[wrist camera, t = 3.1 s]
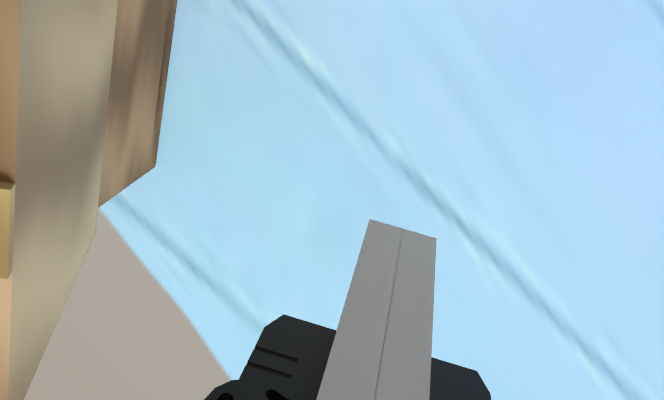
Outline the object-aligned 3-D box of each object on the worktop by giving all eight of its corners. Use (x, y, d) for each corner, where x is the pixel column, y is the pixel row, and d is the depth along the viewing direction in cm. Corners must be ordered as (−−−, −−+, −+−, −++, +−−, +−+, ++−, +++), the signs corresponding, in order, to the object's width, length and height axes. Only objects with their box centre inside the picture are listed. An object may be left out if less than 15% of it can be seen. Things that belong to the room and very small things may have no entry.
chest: (-40, -137, 26) (-196, -166, 20) (187, -76, 26) (100, -86, 19) (-39, 109, 31) (-167, 150, 24) (155, 166, 30) (75, 223, 24)
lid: (-65, -94, 10) (18, -75, 10) (85, -97, 19) (126, -87, 19) (-56, 445, 14) (1, 449, 14) (62, 228, 24) (95, 232, 24)
